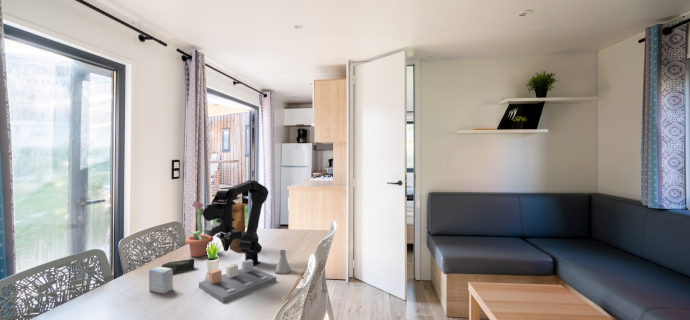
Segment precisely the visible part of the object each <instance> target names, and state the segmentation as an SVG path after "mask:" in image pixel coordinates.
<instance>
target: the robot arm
mask: <svg viewBox="0 0 690 320" xmlns="http://www.w3.org/2000/svg"><path fill="white" fill-rule="evenodd" d="M245 192H248V193H249V194H250V200H251V202H252V204H251V208H250V209H251V210H250V213H249V217H248V223H247V228H246V230H245V233H244V234H243V232H242V231H239V230H235V227H233V221H234V220H235V218H233V205H236V203H237V202H235V201H234V200H237V198H238V196H239V195H241V194H244V193H245ZM268 197H269V190H268V188H267V187H266V186H265V185H263V184H261V183H259V182H258V181H257V180H252V179H249V180H247V181H244V182H241V183H238V184H236V185H234V186H230V187H229V186H228V187H226V186H225V187H219V188H217V192H216V193H215V195H214V197H213V199H212V200H211V203H209V204H206V207H205V208H203V209H204V212H203V215H202V216H203V217H202V218H204V219H205V221H207V222H210V221H214V220H216V222H214V223H213V224H211V225H209V226H207V227H205V228H204V230H205V231H204V232H205V234H206V235H209V236H210V237H213V238H214V236H215V237H216V238H218V239H219V240H220V242H221V245H222V247H223V251H224V252H228V251H229V250H230V245H231V243H232V241H233V239H237V238H241V239H240V247H241V251H242V252H245V253H244V255H245V260H244V261H246V260H250V259H251V260H253V266H256V265H259V264H261V261H259V254H260V252H261V251H262V249H263V247H262V245H261V244H260V243H259V235H258V227H259V221H260V217H261V213H262V208H263V204H264V203H265V202H266V201H267V199H268ZM232 230H233V231H232Z"/></svg>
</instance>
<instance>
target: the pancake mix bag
mask: <svg viewBox="0 0 690 320" xmlns="http://www.w3.org/2000/svg"><path fill="white" fill-rule="evenodd" d="M235 203H236V205H233V218H235V220H234V221H233V227H235V230H239V231H242V232H243V234H244V233H245V232H246V211H245V209H246V205H245V204H243V203H239V202H235ZM232 231H233V230H232ZM240 239H241V238H237V239H233V241H232V243H231V245H230V247H229V250H231V251H233V252H235V253H238V254H245V252H242V251H241V247H240Z"/></svg>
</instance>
